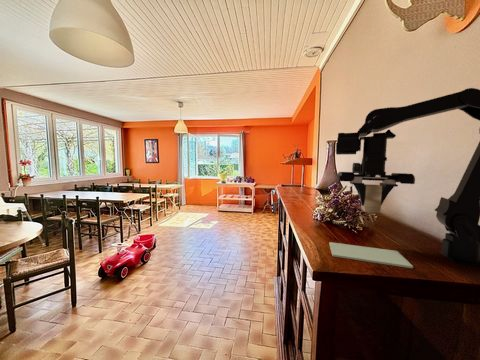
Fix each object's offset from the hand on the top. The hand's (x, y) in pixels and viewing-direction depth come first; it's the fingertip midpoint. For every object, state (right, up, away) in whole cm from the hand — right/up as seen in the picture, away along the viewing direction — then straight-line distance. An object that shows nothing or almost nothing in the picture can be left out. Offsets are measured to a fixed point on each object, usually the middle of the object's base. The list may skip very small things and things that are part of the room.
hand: (370, 205), depth 61 cm
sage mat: (-6, -12, -8) cm, 15 cm away
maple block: (0, -2, 0) cm, 2 cm away
